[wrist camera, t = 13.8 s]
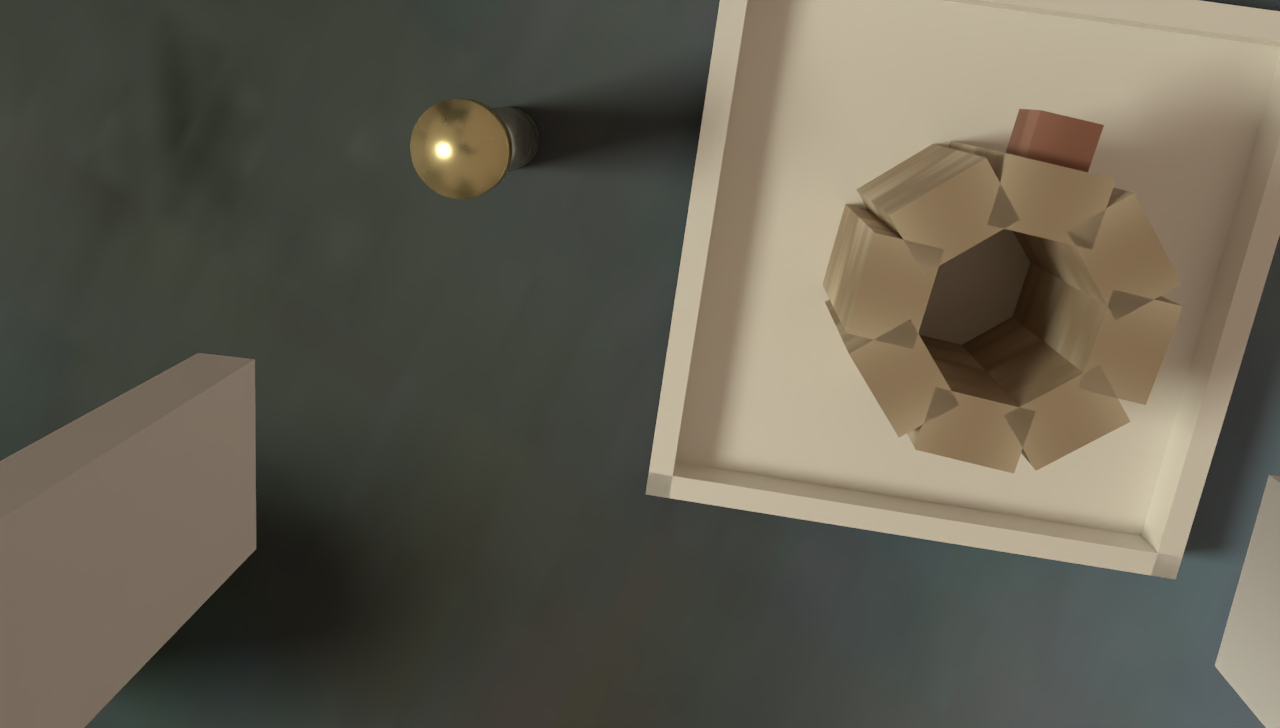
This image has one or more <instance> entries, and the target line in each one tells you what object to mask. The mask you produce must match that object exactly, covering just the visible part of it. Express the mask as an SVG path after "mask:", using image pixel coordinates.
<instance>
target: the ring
mask: <svg viewBox="0 0 1280 728" xmlns="http://www.w3.org/2000/svg"><path fill="white" fill-rule="evenodd" d="M1103 127H1104V125H1102V124H1098V123H1093V122H1089V121H1085V120H1081V119H1076V118H1072V117H1068V116H1064V115H1059V114H1055V113H1051V112H1047V111H1042V110H1030V109H1019V112H1018V115H1017V118H1016V121H1015V124H1014V128H1013V131H1012V134H1011V137H1010V140H1009V143H1008V147H1007V150H1006V153H1003V152H999V151H994V150H990V149H985V148H981V147H976V146H972V145H967V144H963V143H959V142H954V141H951V143H950V146H949V148H947V147H943V146H939V145H935V144H932V145H930V146H928V147H927V148H925V149H923V150H922V151H920V152H918V153H917V154H915V155H913V156H911V157H910V158H908V159H906V160H905V161H903V162H901V163H900V164H898V165H896V166H895V167H893V168H891V169H890V170H888V171H886V172H885V173H883V174H881V175H880V176H878V177H876V178H875V179H873V180H871V181H870V182H868V183H866V184H865V185H863V186H861V187H860V188H858V189H856V190H857V192H858V193H859V195H860V197H861V199H862V200H863V202H864V204H865V206H866V207H867V209H864V208H859V207H855V206H851V205H847V204H845V206H844V210H843V214H842V217H841V221H840V224H839V228H838V231H837V235H836V239H835V242H834V246H833V249H832V253H831V256H830V260H829V264H828V267H827V271H826V274H825V278H824V281H823V287H824V289H825V291H826V293H827V295H828V297H829V300H827V301H825V304H826V306H827V308H828V310H829V312H830V314H831V317H832V319H833V321H834V323H835V325H836V327H837V329H838V332H839V334H840V336H841V338H842V340H843V342H844V344H845V347H846V349H847V351H848V353H849V355H850V357H851V358H852V360H853V362H854V363H855V365H856V367H857V368H858V370H859V372H860V373H861V375H862V377H863V378H864V380H865V382H866V383H867V385H868V387H869V388H870V390H871V392H872V394H873V395H874V397H875V399H876V400H877V402H878V404H879V405H880V407H881V409H882V410H883V412H884V414H885V415H886V417H887V419H888V420H889V422H890V424H891V425H892V427H893V429H894V430H895V432H896V434H897V435H898V437H901V436H903V435H905V434H908V436H909V438H910V440H911V442H912V444H913V446H914V448H915V450H919V451H923V452H927V453H931V454H935V455H939V456H943V457H948V458H952V459H956V460H960V461H964V462H968V463H972V464H977V465H981V466H985V467H989V468H993V469H997V470H1001V471H1005V472H1010V473H1014V472H1015V469H1016V466H1017V464H1018V461H1019V458H1020V455H1021V453H1022V455H1023V456H1024V457H1025V458H1026V459H1027V461H1028V462H1029V463H1030V464H1031V466H1032V467H1033V468H1034V469H1035V470H1038V469H1040V468H1042V467H1044V466H1046V465H1048V464H1050V463H1052V462H1054V461H1056V460H1058V459H1060V458H1062V457H1063V456H1065V455H1067V454H1069V453H1071V452H1073V451H1075V450H1077V449H1079V448H1081V447H1083V446H1085V445H1087V444H1089V443H1090V442H1092V441H1094V440H1096V439H1098V438H1100V437H1102V436H1104V435H1106V434H1108V433H1110V432H1112V431H1114V430H1116V429H1117V428H1119V427H1121V426H1123V425H1125V424H1127V423H1129V422H1131V421H1130V420H1129V418H1128V416H1127V414H1126V412H1125V411H1124V409H1123V407H1122V405H1121V403H1120V401H1119V400H1118V399H1123V400H1127V401H1131V402H1135V403H1139V404H1143V405H1146V403H1147V400H1148V398H1149V395H1150V392H1151V390H1152V387H1153V384H1154V382H1155V379H1156V377H1157V374H1158V371H1159V369H1160V366H1161V363H1162V361H1163V358H1164V355H1165V353H1166V350H1167V347H1168V345H1169V342H1170V339H1171V337H1172V334H1173V331H1174V329H1175V326H1176V324H1177V321H1178V318H1179V316H1180V313H1181V310H1182V308H1183V306H1181V305H1179V304H1177V303H1175V302H1173V301H1171V300H1169V299H1166V298H1164V297H1162V295H1164V294H1165V293H1167V292H1169V291H1171V290H1173V289H1175V288H1177V287H1178V286H1180V285H1182V284H1181V282H1180V280H1179V278H1178V276H1177V274H1176V272H1175V270H1174V268H1173V266H1172V264H1171V262H1170V261H1169V259H1168V257H1167V255H1166V253H1165V251H1164V249H1163V247H1162V245H1161V243H1160V241H1159V239H1158V238H1157V236H1156V234H1155V232H1154V230H1153V228H1152V226H1151V224H1150V222H1149V220H1148V218H1147V216H1146V215H1145V213H1144V211H1143V209H1142V207H1141V205H1140V203H1139V201H1138V199H1137V197H1136V195H1135V194H1134V193H1133V192H1129V191H1125V190H1121V189H1117V188H1114V185H1115V182H1116V179H1113V178H1109V177H1105V176H1101V175H1096V174H1092V173H1088V171H1089V168H1090V165H1091V162H1092V159H1093V156H1094V153H1095V150H1096V147H1097V144H1098V141H1099V138H1100V135H1101V132H1102V130H1103ZM1003 229H1007V230H1012V231H1013V232H1014V234H1015V235H1016V237H1017V239H1018V241H1019V243H1020V244H1021V246H1022V248H1023V250H1024V252H1025V254H1026V255H1027V257H1028V259H1029V261H1030V265H1029V268H1028V271H1027V274H1026V277H1025V280H1024V283H1023V286H1022V289H1021V292H1020V295H1019V298H1018V301H1017V304H1016V307H1015V310H1014V313H1013V316H1012V317H1011V318H1009V319H1007V320H1006V321H1004V322H1002V323H1000V324H998V325H997V326H995V327H993V328H991V329H989V330H987V331H986V332H984V333H982V334H980V335H978V336H977V337H975V338H973V339H971V340H969V341H968V342H966V343H964V344H962V345H960V344H956V343H952V342H948V341H943V340H939V339H935V338H931V337H927V336H923V335H919V334H918V333H919V329H920V326H921V323H922V320H923V316H924V313H925V310H926V307H927V304H928V300H929V297H930V294H931V291H932V287H933V284H934V281H935V278H936V274H937V271H938V268H939V266H940V265H942V264H943V263H945V262H947V261H949V260H950V259H952V258H954V257H956V256H957V255H959V254H961V253H963V252H964V251H966V250H968V249H970V248H971V247H973V246H975V245H977V244H978V243H980V242H982V241H984V240H985V239H987V238H989V237H991V236H992V235H994V234H996V233H998V232H999V231H1001V230H1003Z"/></svg>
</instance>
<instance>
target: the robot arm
mask: <svg viewBox="0 0 1280 728" xmlns="http://www.w3.org/2000/svg"><path fill="white" fill-rule="evenodd" d="M255 550H256V450H255V359H247V358H238V357H229V356H220V355H212V354H203V353H197V354H195V355H194V356H192V357H190V358H188V359H186V360H184V361H183V362H181V363H179V364H177V365H175V366H173V367H172V368H170V369H168V370H166V371H164V372H162V373H161V374H159V375H157V376H155V377H153V378H151V379H150V380H148V381H146V382H144V383H142V384H141V385H139V386H137V387H135V388H133V389H131V390H130V391H128V392H126V393H124V394H122V395H120V396H119V397H117V398H115V399H113V400H111V401H109V402H108V403H106V404H104V405H102V406H100V407H98V408H97V409H95V410H93V411H91V412H89V413H87V414H86V415H84V416H82V417H80V418H78V419H76V420H75V421H73V422H71V423H69V424H67V425H65V426H64V427H62V428H60V429H58V430H56V431H55V432H53V433H51V434H49V435H47V436H45V437H44V438H42V439H40V440H38V441H36V442H34V443H33V444H31V445H29V446H27V447H25V448H23V449H22V450H20V451H18V452H16V453H14V454H12V455H11V456H9V457H7V458H5V459H3V460H1V461H0V728H84V727H85V726H86V725H87V724H88V723H89V722H90V721H91V720H92V719H93V718H94V717H95V716H96V715H97V714H98V713H99V712H100V710H101V709H102V708H103V707H104V706H105V705H106V704H107V703H108V702H109V701H110V700H111V699H112V698H113V697H114V696H115V695H116V694H117V693H118V692H119V691H120V690H121V689H122V688H123V687H124V686H125V685H126V684H127V682H128V681H129V680H130V679H131V678H132V677H133V676H134V675H135V674H136V673H137V672H138V671H139V670H140V669H141V668H142V667H143V666H144V665H145V664H146V663H147V662H148V661H149V660H150V659H151V658H152V657H153V656H154V654H155V653H156V652H157V651H158V650H159V649H160V648H161V647H162V646H163V645H164V644H165V643H166V642H167V641H168V640H169V639H170V638H171V637H172V636H173V635H174V634H175V633H176V632H177V631H178V630H179V629H180V627H181V626H182V625H183V624H184V623H185V622H186V621H187V620H188V619H189V618H190V617H191V616H192V615H193V614H194V613H195V612H196V611H197V610H198V609H199V608H200V607H201V606H202V605H203V604H204V603H205V602H206V601H207V599H208V598H209V597H210V596H211V595H212V594H213V593H214V592H215V591H216V590H217V589H218V588H219V587H220V586H221V585H222V584H223V583H224V582H225V581H226V580H227V579H228V578H229V577H230V576H231V575H232V574H233V573H234V571H235V570H236V569H237V568H238V567H239V566H240V565H241V564H242V563H243V562H244V561H245V560H246V559H247V558H248V557H249V556H250V555H251V554H252V553H253V552H254V551H255ZM1215 667H1216V668H1217V669H1218V670H1219V672H1220V673H1221V674H1222V675H1223V676H1224V678H1225V679H1226V680H1227V681H1228V683H1229V684H1230V685H1231V686H1232V687H1233V689H1234V690H1235V691H1236V692H1237V693H1238V695H1239V696H1240V697H1241V698H1242V699H1243V701H1244V702H1245V703H1246V704H1247V706H1248V707H1249V708H1250V709H1251V710H1252V712H1253V713H1254V714H1255V715H1256V716H1257V718H1258V719H1259V720H1260V721H1261V722H1262V724H1263V725H1264V726H1265V727H1266V728H1280V476H1273V475H1269V477H1268V480H1267V484H1266V487H1265V491H1264V494H1263V498H1262V501H1261V505H1260V508H1259V512H1258V516H1257V519H1256V523H1255V526H1254V530H1253V533H1252V537H1251V540H1250V544H1249V547H1248V551H1247V554H1246V558H1245V561H1244V565H1243V568H1242V572H1241V575H1240V579H1239V583H1238V586H1237V590H1236V593H1235V597H1234V600H1233V604H1232V607H1231V611H1230V614H1229V618H1228V621H1227V625H1226V628H1225V632H1224V635H1223V639H1222V642H1221V646H1220V649H1219V653H1218V657H1217V660H1216V664H1215Z"/></svg>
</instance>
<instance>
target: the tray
mask: <svg viewBox="0 0 1280 728" xmlns="http://www.w3.org/2000/svg"><path fill="white" fill-rule="evenodd" d="M1019 109H1030V110H1042V111H1047V112H1051V113H1055V114H1059V115H1064V116H1068V117H1072V118H1076V119H1081V120H1085V121H1089V122H1093V123H1098V124H1102V125H1104V127H1103V130H1102V132H1101V135H1100V138H1099V141H1098V144H1097V147H1096V150H1095V153H1094V156H1093V159H1092V162H1091V165H1090V168H1089V171H1088V173H1092V174H1096V175H1101V176H1105V177H1109V178H1113V179H1116V182H1115V185H1114V188H1117V189H1121V190H1125V191H1129V192H1133V193H1134V194H1135V195H1136V197H1137V199H1138V201H1139V203H1140V205H1141V207H1142V209H1143V211H1144V213H1145V215H1146V216H1147V218H1148V220H1149V222H1150V224H1151V226H1152V228H1153V230H1154V232H1155V234H1156V236H1157V238H1158V239H1159V241H1160V243H1161V245H1162V247H1163V249H1164V251H1165V253H1166V255H1167V257H1168V259H1169V261H1170V262H1171V264H1172V266H1173V268H1174V270H1175V272H1176V274H1177V276H1178V278H1179V280H1180V282H1181V284H1182V285H1180V286H1178V287H1177V288H1175V289H1173V290H1171V291H1169V292H1167V293H1165V294H1164V295H1162V297H1164V298H1166V299H1169V300H1171V301H1173V302H1175V303H1177V304H1179V305H1181V306H1183V308H1182V310H1181V313H1180V316H1179V318H1178V321H1177V324H1176V326H1175V329H1174V331H1173V334H1172V337H1171V339H1170V342H1169V345H1168V347H1167V350H1166V353H1165V355H1164V358H1163V361H1162V363H1161V366H1160V369H1159V371H1158V374H1157V377H1156V379H1155V382H1154V384H1153V387H1152V390H1151V392H1150V395H1149V398H1148V400H1147V403H1146V405H1143V404H1139V403H1135V402H1131V401H1127V400H1123V399H1118V400H1119V401H1120V403H1121V405H1122V407H1123V409H1124V411H1125V412H1126V414H1127V416H1128V418H1129V420H1130V421H1131V422H1129V423H1127V424H1125V425H1123V426H1121V427H1119V428H1117V429H1116V430H1114V431H1112V432H1110V433H1108V434H1106V435H1104V436H1102V437H1100V438H1098V439H1096V440H1094V441H1092V442H1090V443H1089V444H1087V445H1085V446H1083V447H1081V448H1079V449H1077V450H1075V451H1073V452H1071V453H1069V454H1067V455H1065V456H1063V457H1062V458H1060V459H1058V460H1056V461H1054V462H1052V463H1050V464H1048V465H1046V466H1044V467H1042V468H1040V469H1038V470H1035V469H1034V468H1033V467H1032V466H1031V464H1030V463H1029V462H1028V461H1027V459H1026V458H1025V457H1024V456H1023V455H1022V453H1021V455H1020V458H1019V461H1018V464H1017V466H1016V469H1015V472H1014V473H1010V472H1005V471H1001V470H997V469H993V468H989V467H985V466H981V465H977V464H972V463H968V462H964V461H960V460H956V459H952V458H948V457H943V456H939V455H935V454H931V453H927V452H923V451H919V450H915V448H914V446H913V444H912V442H911V440H910V438H909V436H908V434H905V435H903V436H901V437H898V435H897V434H896V432H895V430H894V429H893V427H892V425H891V424H890V422H889V420H888V419H887V417H886V415H885V414H884V412H883V410H882V409H881V407H880V405H879V404H878V402H877V400H876V399H875V397H874V395H873V394H872V392H871V390H870V388H869V387H868V385H867V383H866V382H865V380H864V378H863V377H862V375H861V373H860V372H859V370H858V368H857V367H856V365H855V363H854V362H853V360H852V358H851V357H850V355H849V353H848V351H847V349H846V347H845V344H844V342H843V340H842V338H841V336H840V334H839V332H838V329H837V327H836V325H835V323H834V321H833V319H832V317H831V314H830V312H829V310H828V308H827V306H826V304H825V301H827V300H829V297H828V295H827V293H826V291H825V289H824V287H823V281H824V278H825V274H826V271H827V267H828V264H829V260H830V256H831V253H832V249H833V246H834V242H835V239H836V235H837V231H838V228H839V224H840V221H841V217H842V214H843V210H844V206H845V204H847V205H851V206H855V207H859V208H864V209H867V207H866V206H865V204H864V202H863V200H862V199H861V197H860V195H859V193H858V192H857V190H856V189H858V188H860V187H861V186H863V185H865V184H866V183H868V182H870V181H871V180H873V179H875V178H876V177H878V176H880V175H881V174H883V173H885V172H886V171H888V170H890V169H891V168H893V167H895V166H896V165H898V164H900V163H901V162H903V161H905V160H906V159H908V158H910V157H911V156H913V155H915V154H917V153H918V152H920V151H922V150H923V149H925V148H927V147H928V146H930V145H932V144H935V145H939V146H943V147H947V148H949V146H950V143H951V141H954V142H959V143H963V144H967V145H972V146H976V147H981V148H985V149H990V150H994V151H999V152H1003V153H1006V150H1007V147H1008V143H1009V140H1010V137H1011V134H1012V131H1013V128H1014V124H1015V121H1016V118H1017V115H1018V112H1019ZM1279 236H1280V11H1273V10H1266V9H1258V8H1251V7H1244V6H1237V5H1229V4H1222V3H1215V2H1208V1H1200V0H720V4H719V10H718V17H717V24H716V30H715V37H714V44H713V50H712V57H711V63H710V70H709V77H708V83H707V90H706V97H705V103H704V110H703V116H702V123H701V130H700V136H699V143H698V150H697V156H696V163H695V170H694V176H693V183H692V189H691V196H690V203H689V209H688V216H687V223H686V229H685V236H684V243H683V249H682V256H681V262H680V269H679V276H678V282H677V289H676V296H675V302H674V309H673V316H672V322H671V329H670V335H669V342H668V349H667V355H666V362H665V369H664V375H663V382H662V389H661V395H660V402H659V408H658V415H657V422H656V428H655V435H654V442H653V448H652V455H651V461H650V468H649V475H648V481H647V488H646V494H647V495H653V496H660V497H666V498H672V499H678V500H685V501H691V502H697V503H703V504H709V505H716V506H722V507H728V508H734V509H741V510H747V511H753V512H759V513H765V514H772V515H778V516H784V517H790V518H797V519H803V520H809V521H815V522H821V523H828V524H834V525H840V526H846V527H853V528H859V529H865V530H871V531H877V532H884V533H890V534H896V535H902V536H909V537H915V538H921V539H927V540H933V541H940V542H946V543H952V544H958V545H965V546H971V547H977V548H983V549H989V550H996V551H1002V552H1008V553H1014V554H1021V555H1027V556H1033V557H1039V558H1045V559H1052V560H1058V561H1064V562H1070V563H1077V564H1083V565H1089V566H1095V567H1101V568H1108V569H1114V570H1120V571H1126V572H1133V573H1139V574H1145V575H1151V576H1157V577H1164V578H1170V579H1176V577H1177V573H1178V570H1179V567H1180V563H1181V560H1182V557H1183V553H1184V550H1185V547H1186V544H1187V540H1188V537H1189V534H1190V530H1191V527H1192V524H1193V520H1194V517H1195V514H1196V510H1197V507H1198V504H1199V500H1200V497H1201V494H1202V491H1203V487H1204V484H1205V481H1206V477H1207V474H1208V471H1209V467H1210V464H1211V461H1212V457H1213V454H1214V451H1215V447H1216V444H1217V441H1218V438H1219V434H1220V431H1221V428H1222V424H1223V421H1224V418H1225V414H1226V411H1227V408H1228V404H1229V401H1230V398H1231V395H1232V391H1233V388H1234V385H1235V381H1236V378H1237V375H1238V371H1239V368H1240V365H1241V361H1242V358H1243V355H1244V351H1245V348H1246V345H1247V342H1248V338H1249V335H1250V332H1251V328H1252V325H1253V322H1254V318H1255V315H1256V312H1257V308H1258V305H1259V302H1260V298H1261V295H1262V292H1263V289H1264V285H1265V282H1266V279H1267V275H1268V272H1269V269H1270V265H1271V262H1272V259H1273V255H1274V252H1275V249H1276V245H1277V242H1278V239H1279ZM1029 265H1030V261H1029V259H1028V257H1027V255H1026V254H1025V252H1024V250H1023V248H1022V246H1021V244H1020V243H1019V241H1018V239H1017V237H1016V235H1015V234H1014V232H1013V231H1012V230H1007V229H1003V230H1001V231H999V232H998V233H996V234H994V235H992V236H991V237H989V238H987V239H985V240H984V241H982V242H980V243H978V244H977V245H975V246H973V247H971V248H970V249H968V250H966V251H964V252H963V253H961V254H959V255H957V256H956V257H954V258H952V259H950V260H949V261H947V262H945V263H943V264H942V265H940V266H939V268H938V271H937V274H936V278H935V281H934V284H933V287H932V291H931V294H930V297H929V300H928V304H927V307H926V310H925V313H924V316H923V320H922V323H921V326H920V329H919V333H918V334H919V335H923V336H927V337H931V338H935V339H939V340H943V341H948V342H952V343H956V344H960V345H962V344H964V343H966V342H968V341H969V340H971V339H973V338H975V337H977V336H978V335H980V334H982V333H984V332H986V331H987V330H989V329H991V328H993V327H995V326H997V325H998V324H1000V323H1002V322H1004V321H1006V320H1007V319H1009V318H1011V317H1012V316H1013V313H1014V310H1015V307H1016V304H1017V301H1018V298H1019V295H1020V292H1021V289H1022V286H1023V283H1024V280H1025V277H1026V274H1027V271H1028V268H1029Z"/></svg>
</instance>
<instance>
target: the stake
mask: <svg viewBox="0 0 1280 728" xmlns="http://www.w3.org/2000/svg"><path fill="white" fill-rule="evenodd" d="M539 141H540V138H539V131H538V128H537V126H536V124H535V122H534V120H533V119H532V118H531V117H530V116H529V115H528V114H527V113H526V112H524V111H522V110H520V109H517V108H513V107H502V108H490V107H489V106H487V105H485V104H483V103H481V102H478V101H474V100H469V99H454V100H446V101H442V102H440V103H437V104H435V105H433V106H432V107H430V108H429V109H427V110H426V111H425V112H424V113H423V114H422V115H421V117H420V118H419V119H418V121H417V123H416V124H415V127H414V129H413V132H412V136H411V142H410V151H411V158H412V162H413V165H414V167H415V169H416V171H417V173H418V175H419V176H420V178H421V179H422V180H423V182H424V183H425V184H426V185H427V186H428V187H430V188H431V189H432V190H434V191H435V192H437V193H439V194H441V195H443V196H446V197H449V198H454V199H467V198H473V197H476V196H478V195H481V194H483V193H485V192H487V191H489V190H491V189H493V188H494V187H495V186H497V185H498V184H499V183H500V182H501V180H502V179H503V178H504V177H505V175H506V173H507V172H510V171H513V170H515V169H518V168H521V167H523V166H525V165H526V164H528V163H529V162H530V161H531V160H532V159H533V158H534V156H535V155H536V153H537V151H538V147H539Z"/></svg>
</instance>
